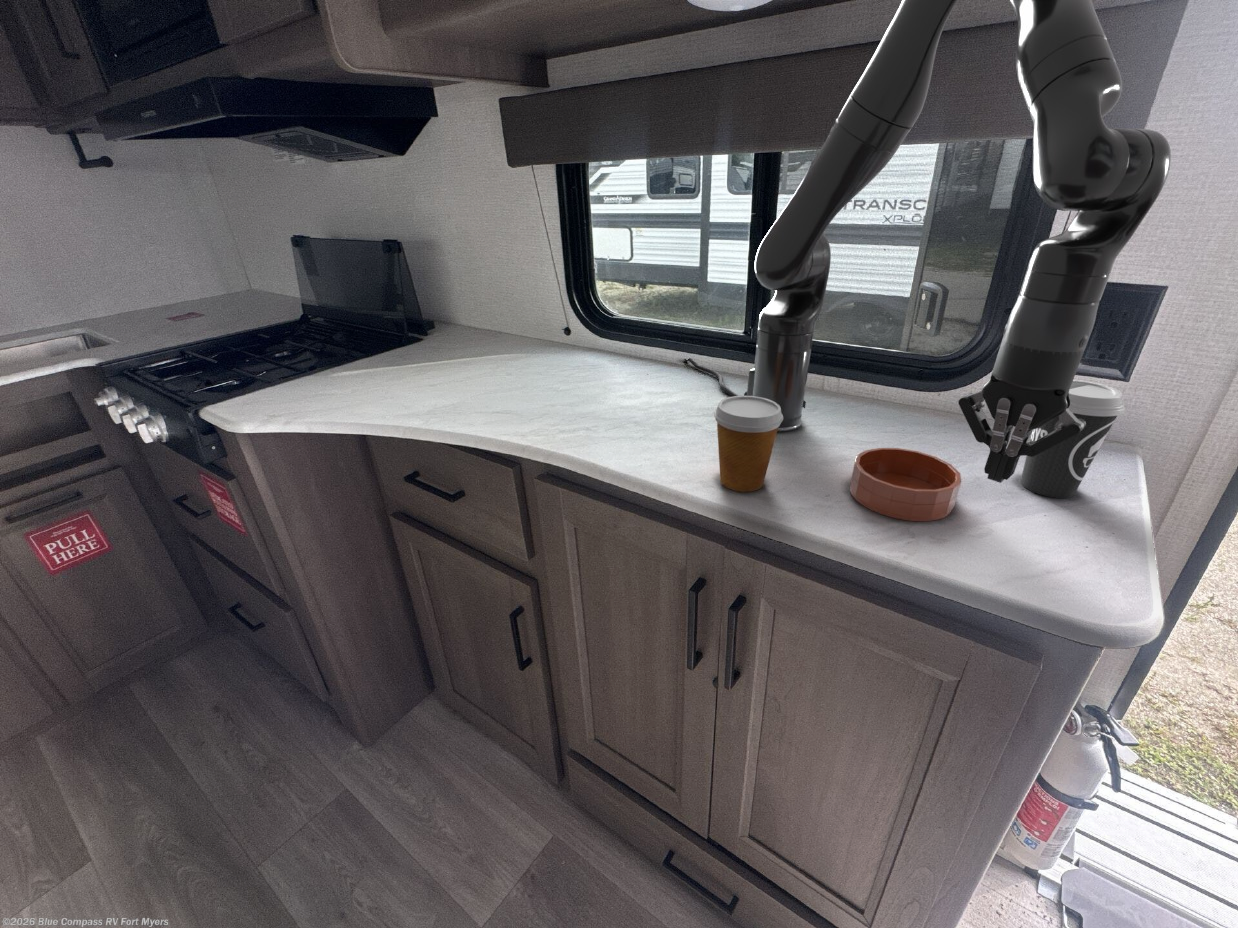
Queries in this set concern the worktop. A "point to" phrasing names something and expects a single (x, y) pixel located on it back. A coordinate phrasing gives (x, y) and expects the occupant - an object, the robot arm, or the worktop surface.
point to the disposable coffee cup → (746, 440)
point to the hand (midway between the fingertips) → (996, 478)
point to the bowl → (905, 484)
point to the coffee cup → (1073, 441)
